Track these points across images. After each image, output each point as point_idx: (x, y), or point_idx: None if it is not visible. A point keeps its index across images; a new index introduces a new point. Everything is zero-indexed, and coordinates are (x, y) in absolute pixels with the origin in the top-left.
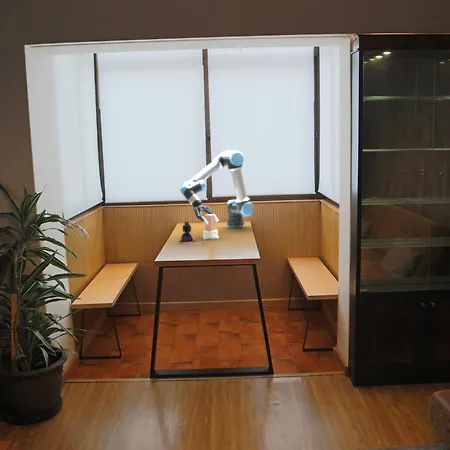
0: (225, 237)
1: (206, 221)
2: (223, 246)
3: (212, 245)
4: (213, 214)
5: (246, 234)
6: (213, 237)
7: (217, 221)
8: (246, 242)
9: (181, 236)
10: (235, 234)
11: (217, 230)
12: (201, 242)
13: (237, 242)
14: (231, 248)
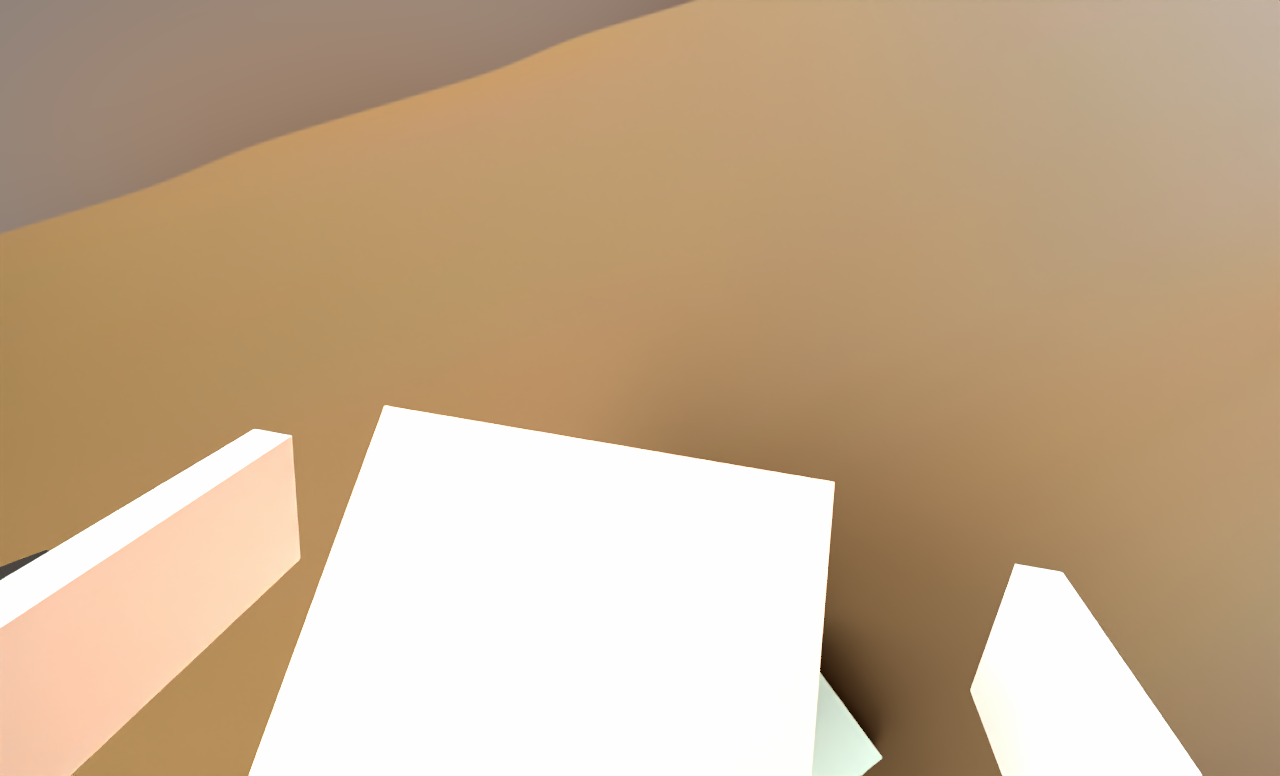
0: None
1: (1095, 627)
2: (1188, 171)
3: (1220, 357)
4: (390, 447)
5: (153, 218)
6: None
7: (284, 506)
8: (794, 17)
9: None
10: (128, 391)
11: None
12: None
13: (832, 110)
14: (1242, 36)
